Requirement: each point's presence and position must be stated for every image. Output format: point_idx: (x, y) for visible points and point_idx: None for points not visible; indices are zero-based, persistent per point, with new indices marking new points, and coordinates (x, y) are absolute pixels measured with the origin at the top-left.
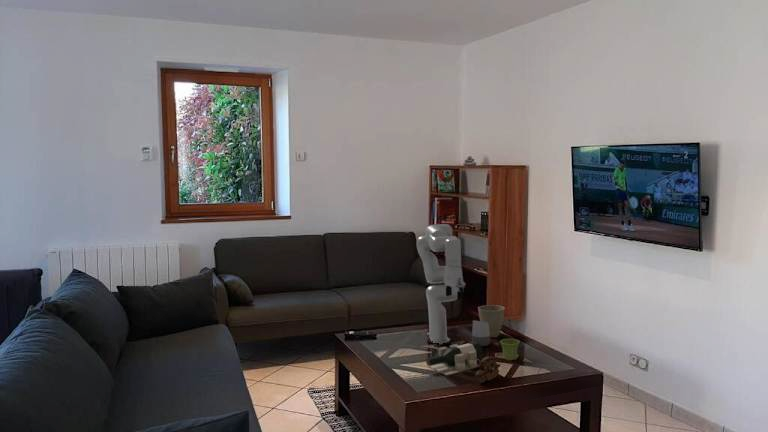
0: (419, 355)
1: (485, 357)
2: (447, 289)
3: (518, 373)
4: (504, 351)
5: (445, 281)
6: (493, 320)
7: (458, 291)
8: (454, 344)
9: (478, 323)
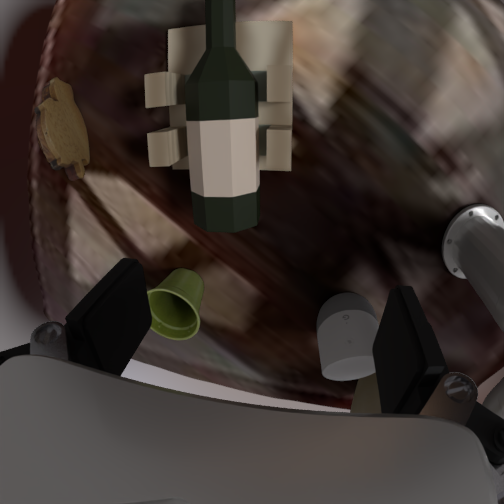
0: (417, 83)
1: (45, 132)
2: (409, 364)
3: (84, 217)
4: (175, 279)
5: (437, 501)
6: (359, 406)
7: (59, 327)
8: (289, 157)
9: (342, 352)
